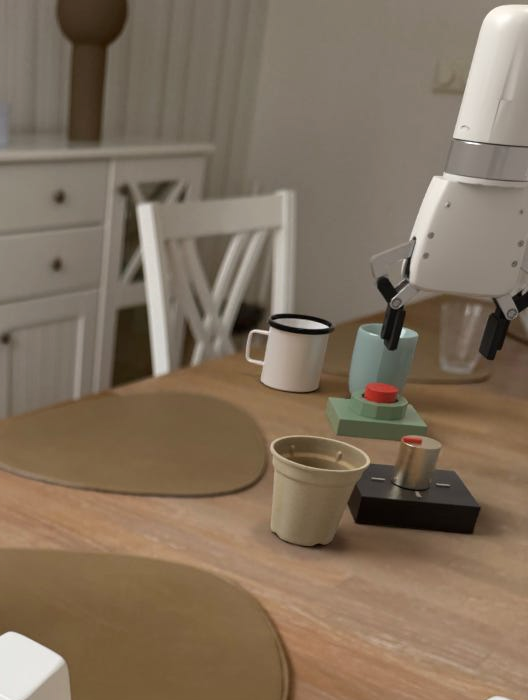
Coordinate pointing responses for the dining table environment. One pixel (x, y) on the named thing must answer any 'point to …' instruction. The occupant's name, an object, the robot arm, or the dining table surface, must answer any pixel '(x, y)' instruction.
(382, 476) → the dial panel
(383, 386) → the button
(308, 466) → the flower pot
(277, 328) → the mug
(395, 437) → the button housing
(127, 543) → the dining table surface
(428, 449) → the knob
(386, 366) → the cup
